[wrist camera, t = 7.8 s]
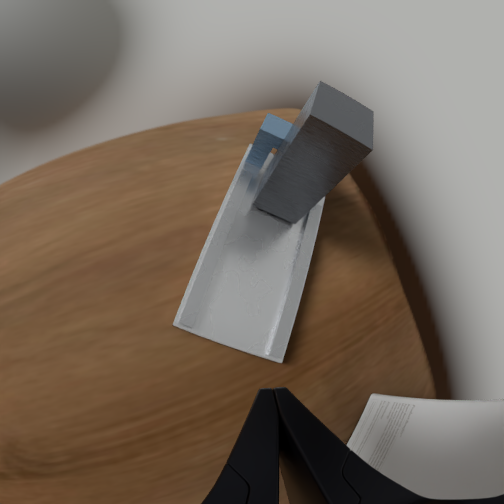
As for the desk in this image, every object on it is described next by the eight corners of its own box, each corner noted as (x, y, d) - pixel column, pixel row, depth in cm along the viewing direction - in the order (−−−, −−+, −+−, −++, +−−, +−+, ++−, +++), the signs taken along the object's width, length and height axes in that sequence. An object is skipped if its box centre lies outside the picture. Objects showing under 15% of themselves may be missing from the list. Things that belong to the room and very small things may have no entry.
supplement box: (385, 493, 16) (506, 531, 3) (320, 483, 16) (465, 558, 2) (425, 414, 20) (554, 417, 6) (371, 389, 20) (541, 392, 6)
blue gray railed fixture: (277, 362, 18) (309, 367, 14) (172, 325, 17) (173, 320, 13) (324, 185, 24) (352, 156, 20) (247, 149, 23) (264, 111, 19)
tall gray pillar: (295, 224, 21) (372, 150, 12) (252, 205, 20) (309, 114, 12) (313, 155, 24) (372, 81, 15) (278, 138, 23) (327, 55, 14)
